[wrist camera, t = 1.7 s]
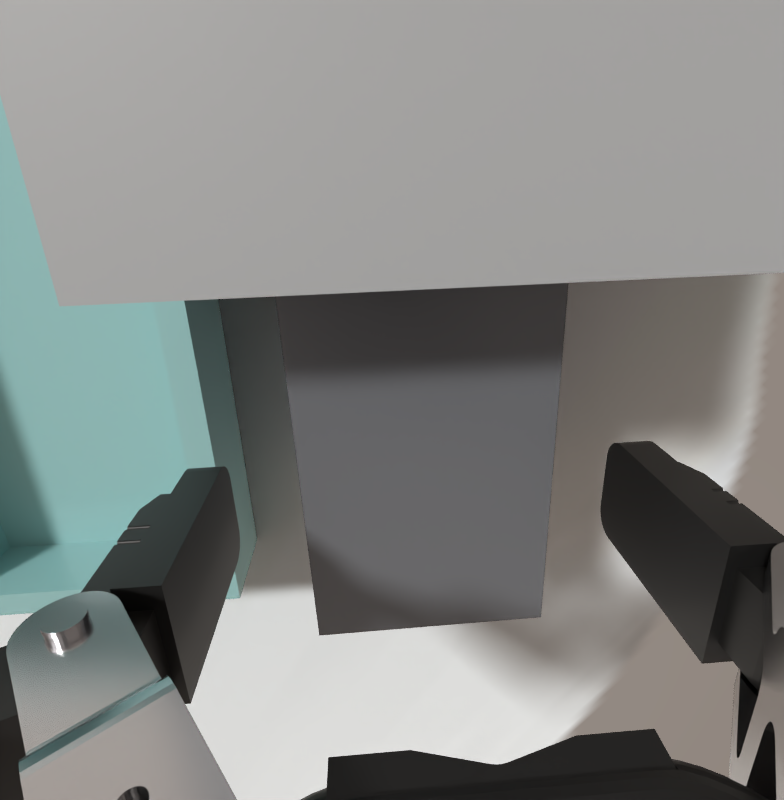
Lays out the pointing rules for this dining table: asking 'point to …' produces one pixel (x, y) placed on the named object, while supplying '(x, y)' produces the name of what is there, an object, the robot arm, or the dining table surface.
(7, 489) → the tray
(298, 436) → the tall grey pillar
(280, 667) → the dining table surface
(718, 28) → the light grey block
